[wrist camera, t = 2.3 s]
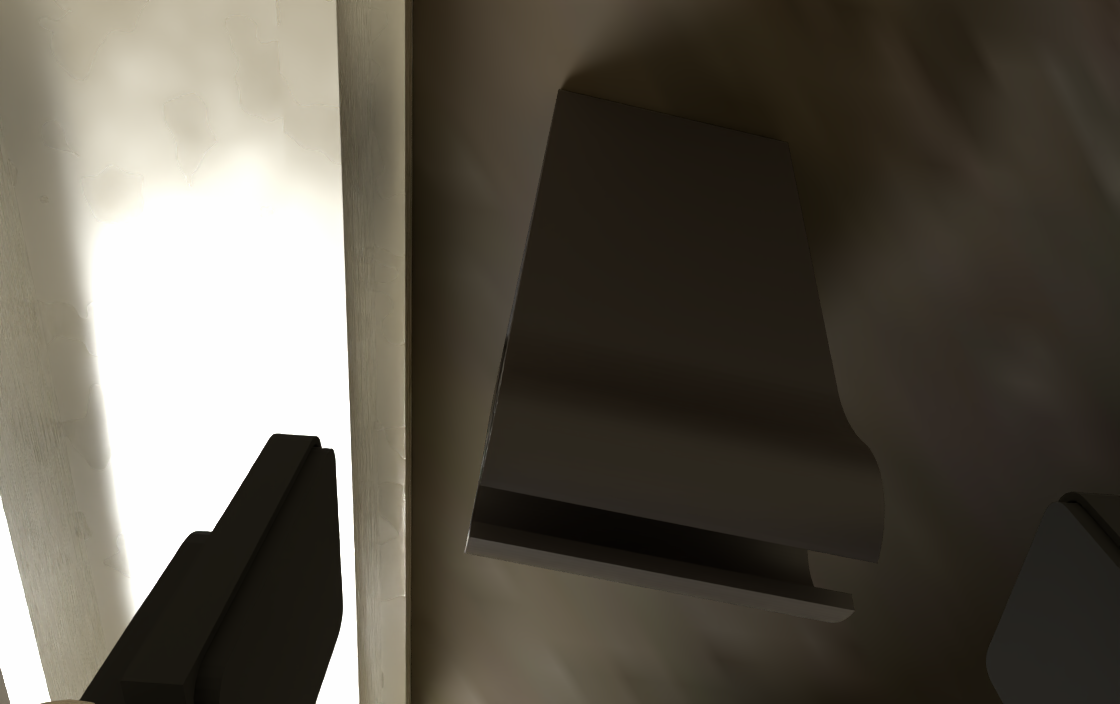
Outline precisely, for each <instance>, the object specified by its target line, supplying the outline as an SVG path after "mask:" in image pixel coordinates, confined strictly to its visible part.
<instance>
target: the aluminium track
mask: <svg viewBox="0 0 1120 704" xmlns="http://www.w3.org/2000/svg"><path fill="white" fill-rule="evenodd" d="M412 69H413V0H0V665H1V669H2V673H3V676H4V680H5V684H6V687H7V691H8V695H9V698H10V702H11V704H39V703H42V702H47V701H57V700H66V699H72V700H80V698H81V697H82V695H83V693H84V692H85V690H86V689H87V687H88V686H89V684H90V683H91V681H92V680H93V678H94V677H95V675H96V674H97V672H98V670H99V669H100V667H101V666H102V664H103V663H104V661H105V660H106V658H107V657H108V655H109V654H110V652H111V651H112V649H113V647H114V646H115V644H116V643H117V641H118V640H119V638H120V637H121V635H122V634H123V632H124V631H125V629H126V628H127V626H128V624H129V623H130V621H131V620H132V618H133V617H134V615H135V614H136V612H137V611H138V609H139V608H140V606H141V605H142V603H143V601H144V600H145V598H146V597H147V595H148V594H149V592H150V591H151V589H152V588H153V586H154V585H155V583H156V582H157V580H158V578H159V577H160V575H161V574H162V572H163V571H164V569H165V568H166V566H167V565H168V563H169V562H170V560H171V559H172V557H173V555H174V554H175V552H176V551H177V549H178V548H179V546H180V545H181V543H182V542H183V541H184V539H185V538H186V537H187V536H188V535H189V533H191V532H193V531H195V530H203V531H212V530H213V528H214V527H215V525H216V523H217V522H218V520H219V519H220V517H221V515H222V514H223V512H224V510H225V509H226V507H227V506H228V504H229V502H230V501H231V499H232V497H233V496H234V494H235V493H236V491H237V489H238V488H239V486H240V484H241V483H242V481H243V480H244V478H245V476H246V475H247V473H248V471H249V470H250V468H251V467H252V465H253V463H254V462H255V460H256V458H257V457H258V455H259V453H260V452H261V450H262V449H263V447H264V445H265V444H266V442H267V440H268V439H269V437H270V436H271V435H272V434H273V433H285V434H299V435H312V436H318V437H319V438H320V440H321V444H322V447H323V448H333V449H334V451H335V455H336V470H337V490H338V509H339V528H340V547H341V567H342V586H343V619H342V625H341V630H340V633H339V637H338V640H337V643H336V646H335V648H334V651H333V654H332V657H331V660H330V663H329V666H328V669H327V672H326V675H325V678H324V681H323V684H322V687H321V690H320V693H319V695H318V698H317V701H316V704H411V443H412Z"/></svg>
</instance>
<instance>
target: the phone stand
mask: <svg viewBox="0 0 1120 704" xmlns="http://www.w3.org/2000/svg"><path fill="white" fill-rule="evenodd" d="M883 530H884V492H883V485H882V479H881V474H880V471H879V467H878V464H877V462H876V459H875V457H874V455H873V453H872V452H871V450H870V449H869V448H868V446H867V445H866V444H865V443H864V442H862V441H861V440H860V438H859V437H858V436H857V435H856V434H855V432H854V431H853V429H852V428H851V426H850V424H849V422H848V420H847V418H846V416H845V413H844V411H843V408H842V405H841V402H840V398H839V394H838V390H837V385H836V380H835V375H834V370H833V365H832V360H831V355H830V350H829V345H828V340H827V335H826V330H825V325H824V320H823V315H822V310H821V305H820V300H819V295H818V290H817V285H816V280H815V275H814V270H813V265H812V260H811V255H810V250H809V245H808V240H807V235H806V230H805V225H804V220H803V215H802V210H801V206H800V201H799V196H798V191H797V186H796V181H795V176H794V171H793V166H792V161H791V156H790V151H789V146H788V143H787V142H783V141H779V140H775V139H770V138H766V137H762V136H758V135H753V134H749V133H745V132H740V131H736V130H732V129H728V128H723V127H719V126H715V125H710V124H706V123H702V122H698V121H693V120H689V119H685V118H680V117H676V116H672V115H668V114H663V113H659V112H655V111H650V110H646V109H642V108H638V107H633V106H629V105H625V104H620V103H616V102H612V101H608V100H603V99H599V98H595V97H590V96H586V95H582V94H578V93H573V92H569V91H565V90H560V89H559V90H558V94H557V99H556V104H555V109H554V113H553V118H552V123H551V127H550V132H549V137H548V141H547V146H546V151H545V156H544V160H543V165H542V170H541V174H540V179H539V184H538V188H537V193H536V198H535V203H534V207H533V212H532V217H531V221H530V226H529V231H528V235H527V240H526V245H525V250H524V254H523V259H522V264H521V268H520V273H519V278H518V282H517V287H516V292H515V297H514V301H513V306H512V311H511V315H510V320H509V325H508V329H507V334H506V339H505V344H504V348H503V353H502V358H501V362H500V367H499V372H498V376H497V381H496V386H495V391H494V395H493V400H492V406H491V412H490V418H489V424H488V429H487V435H486V441H485V447H484V453H483V459H482V465H481V470H480V476H479V481H478V487H477V492H476V497H475V502H474V507H473V512H472V517H471V522H470V527H469V532H468V538H467V543H466V548H465V553H467V554H472V555H477V556H483V557H488V558H493V559H498V560H504V561H509V562H514V563H519V564H525V565H530V566H535V567H541V568H546V569H551V570H556V571H562V572H567V573H572V574H577V575H583V576H588V577H593V578H598V579H604V580H609V581H614V582H619V583H625V584H630V585H635V586H640V587H646V588H651V589H656V590H661V591H667V592H672V593H677V594H682V595H688V596H693V597H698V598H703V599H709V600H714V601H719V602H724V603H730V604H735V605H740V606H745V607H751V608H756V609H761V610H766V611H772V612H777V613H782V614H788V615H793V616H798V617H803V618H809V619H814V620H819V621H824V622H830V623H837V622H841V621H843V620H845V619H846V618H848V617H849V616H850V615H851V614H852V613H853V612H854V611H855V609H854V604H853V599H852V594H848V593H843V592H837V591H832V590H827V589H822V588H817V587H814V585H813V583H812V579H811V576H810V571H809V565H808V553H807V550H812V551H817V552H822V553H827V554H832V555H837V556H842V557H847V558H853V559H858V560H863V561H868V562H873V563H878V559H879V555H880V550H881V545H882V538H883Z"/></svg>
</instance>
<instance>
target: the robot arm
mask: <svg viewBox="0 0 1120 704" xmlns="http://www.w3.org/2000/svg"><path fill="white" fill-rule="evenodd" d="M342 619H343V586H342V567H341V547H340V528H339V509H338V490H337V470H336V455H335V451H334V449H333V448H323V447H322V444H321V440H320V438H319V437H318V436H312V435H299V434H285V433H273V434H272V435H271V436H270V437H269V439H268V440H267V442H266V444H265V445H264V447H263V449H262V450H261V452H260V453H259V455H258V457H257V458H256V460H255V462H254V463H253V465H252V467H251V468H250V470H249V471H248V473H247V475H246V476H245V478H244V480H243V481H242V483H241V484H240V486H239V488H238V489H237V491H236V493H235V494H234V496H233V497H232V499H231V501H230V502H229V504H228V506H227V507H226V509H225V510H224V512H223V514H222V515H221V517H220V519H219V520H218V522H217V523H216V525H215V527H214V528H213V530H212V531H203V530H195V531H193V532H191V533H189V535H188V536H187V537H186V538H185V539H184V541H183V542H182V543H181V545H180V546H179V548H178V549H177V551H176V552H175V554H174V555H173V557H172V559H171V560H170V562H169V563H168V565H167V566H166V568H165V569H164V571H163V572H162V574H161V575H160V577H159V578H158V580H157V582H156V583H155V585H154V586H153V588H152V589H151V591H150V592H149V594H148V595H147V597H146V598H145V600H144V601H143V603H142V605H141V606H140V608H139V609H138V611H137V612H136V614H135V615H134V617H133V618H132V620H131V621H130V623H129V624H128V626H127V628H126V629H125V631H124V632H123V634H122V635H121V637H120V638H119V640H118V641H117V643H116V644H115V646H114V647H113V649H112V651H111V652H110V654H109V655H108V657H107V658H106V660H105V661H104V663H103V664H102V666H101V667H100V669H99V670H98V672H97V674H96V675H95V677H94V678H93V680H92V681H91V683H90V684H89V686H88V687H87V689H86V690H85V692H84V693H83V695H82V697H81V698H80V700H72V699H66V700H57V701H47V702H42V703H39V704H316V701H317V698H318V695H319V693H320V690H321V687H322V684H323V681H324V678H325V675H326V672H327V669H328V666H329V663H330V660H331V657H332V654H333V651H334V648H335V646H336V643H337V640H338V637H339V633H340V630H341V625H342ZM986 666H987V672H988V676H989V678H990V680H991V682H992V684H993V686H994V688H995V690H996V691H997V693H998V695H999V697H1000V698H1001V700H1002V702H1003V704H1120V497H1119V496H1115V495H1108V494H1095V493H1081V492H1070V493H1066V494H1065V495H1063V496H1062V497H1061V498H1060V500H1059V501H1058V502H1054V503H1051V504H1050V505H1049V506H1048V507H1047V509H1046V511H1045V513H1044V515H1043V518H1042V520H1041V523H1040V525H1039V527H1038V530H1037V532H1036V535H1035V537H1034V539H1033V542H1032V544H1031V547H1030V549H1029V552H1028V554H1027V556H1026V559H1025V561H1024V564H1023V566H1022V568H1021V571H1020V573H1019V576H1018V578H1017V580H1016V583H1015V585H1014V588H1013V590H1012V592H1011V595H1010V597H1009V600H1008V602H1007V605H1006V607H1005V609H1004V612H1003V614H1002V617H1001V619H1000V621H999V624H998V626H997V629H996V631H995V633H994V636H993V638H992V641H991V643H990V646H989V648H988V651H987V655H986Z"/></svg>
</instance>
